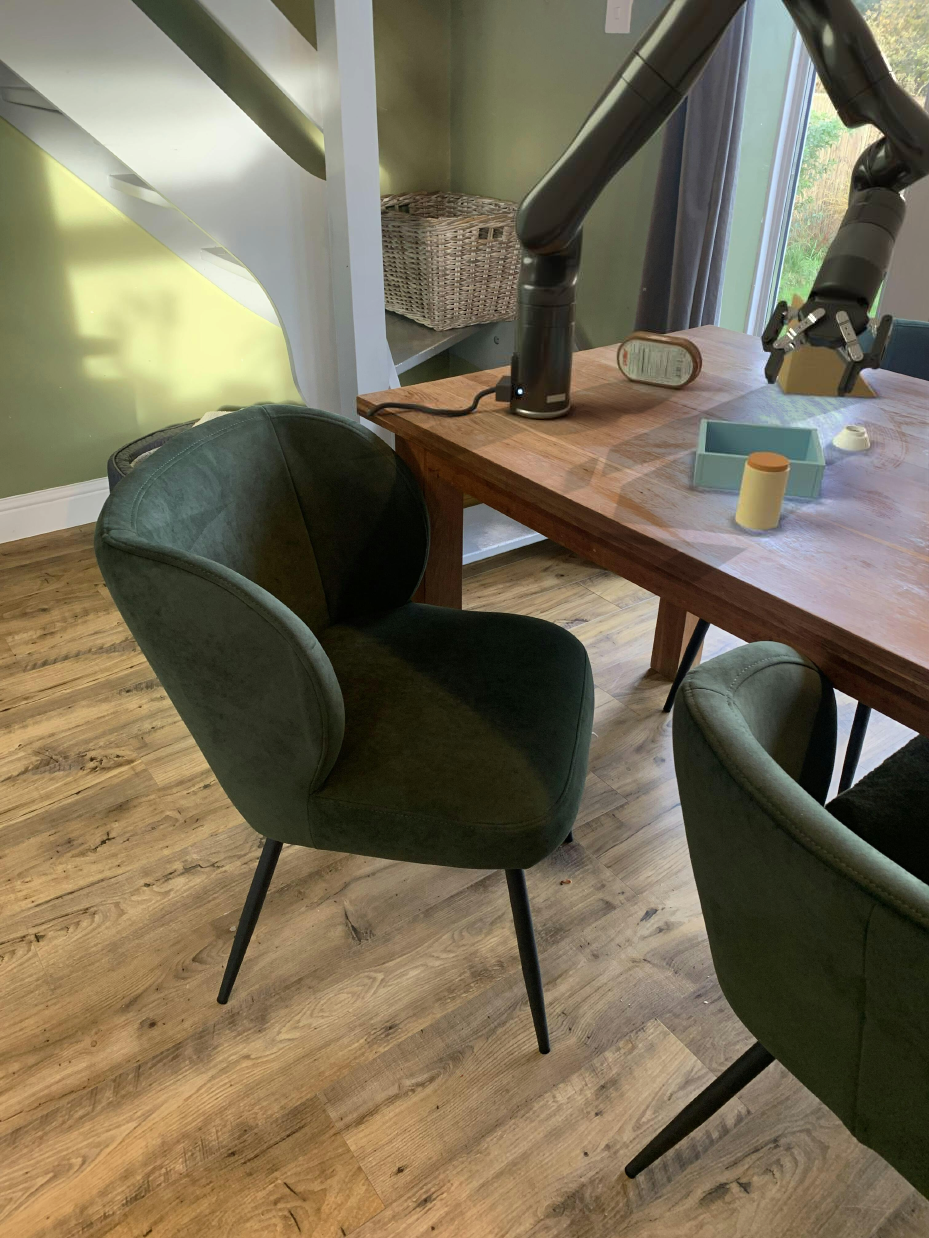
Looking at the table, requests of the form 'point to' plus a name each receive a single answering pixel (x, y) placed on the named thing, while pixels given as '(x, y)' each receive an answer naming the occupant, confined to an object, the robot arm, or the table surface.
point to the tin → (659, 359)
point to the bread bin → (735, 441)
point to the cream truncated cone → (852, 438)
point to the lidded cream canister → (762, 490)
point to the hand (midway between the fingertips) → (804, 387)
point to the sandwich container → (816, 369)
